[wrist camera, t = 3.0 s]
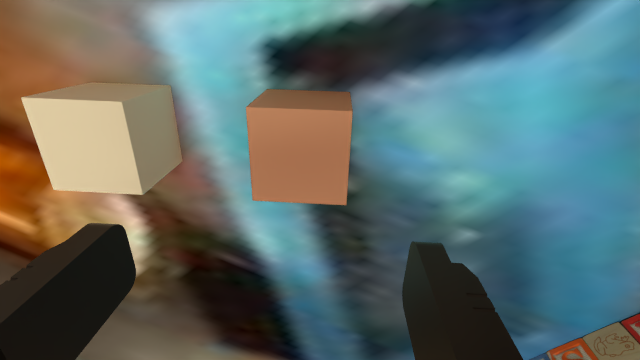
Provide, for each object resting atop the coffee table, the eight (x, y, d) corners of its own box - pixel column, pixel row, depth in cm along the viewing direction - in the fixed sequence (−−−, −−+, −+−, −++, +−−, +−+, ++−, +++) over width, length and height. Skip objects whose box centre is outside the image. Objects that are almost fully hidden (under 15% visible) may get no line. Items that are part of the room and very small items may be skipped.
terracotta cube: (349, 91, 20) (352, 111, 15) (344, 168, 22) (346, 205, 17) (267, 88, 20) (246, 107, 15) (270, 164, 22) (252, 200, 17)
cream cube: (171, 85, 20) (121, 101, 16) (182, 160, 22) (142, 194, 18) (92, 81, 20) (20, 97, 16) (111, 157, 22) (53, 189, 18)
